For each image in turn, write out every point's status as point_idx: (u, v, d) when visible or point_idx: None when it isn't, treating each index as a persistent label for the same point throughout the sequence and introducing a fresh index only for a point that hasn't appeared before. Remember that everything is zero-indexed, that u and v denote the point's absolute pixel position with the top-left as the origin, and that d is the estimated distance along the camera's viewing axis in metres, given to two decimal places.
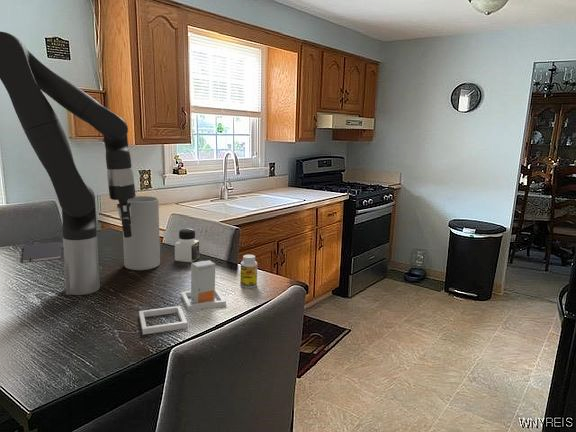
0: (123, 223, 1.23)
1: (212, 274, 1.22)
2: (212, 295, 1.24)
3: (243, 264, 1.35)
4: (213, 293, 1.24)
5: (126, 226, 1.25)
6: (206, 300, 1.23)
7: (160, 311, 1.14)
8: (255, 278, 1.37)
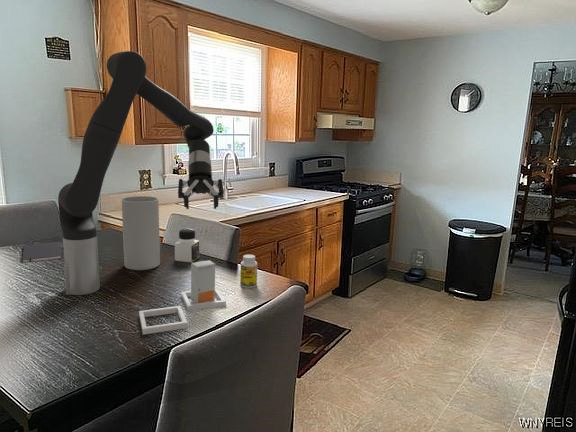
0: (223, 192, 1.34)
1: (212, 274, 1.22)
2: (212, 295, 1.24)
3: (243, 264, 1.35)
4: (213, 293, 1.24)
5: (218, 197, 1.33)
6: (206, 300, 1.23)
7: (160, 311, 1.14)
8: (255, 278, 1.37)
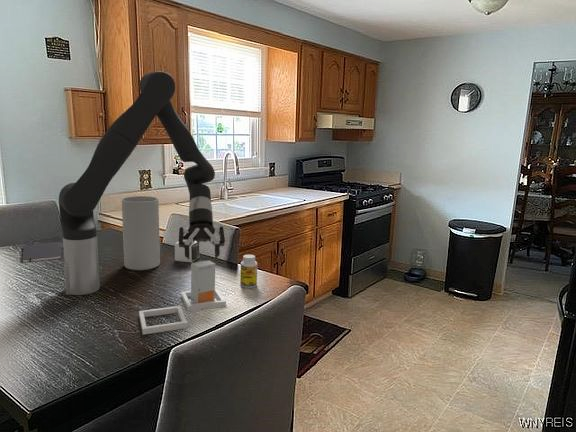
0: (224, 241, 1.32)
1: (212, 274, 1.22)
2: (212, 295, 1.24)
3: (243, 264, 1.35)
4: (213, 293, 1.24)
5: (219, 246, 1.31)
6: (206, 300, 1.23)
7: (160, 311, 1.14)
8: (255, 278, 1.37)
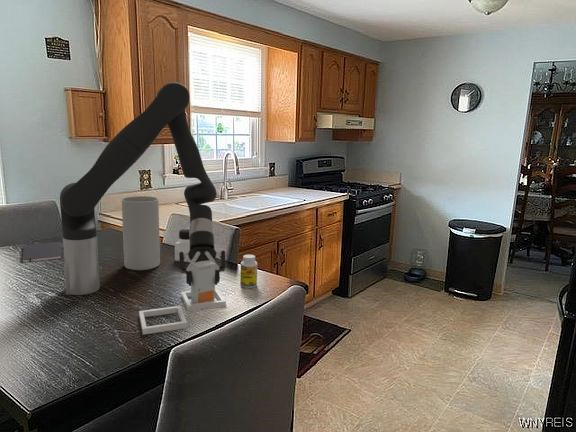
0: None
1: (212, 274, 1.22)
2: (212, 295, 1.24)
3: (243, 264, 1.35)
4: (213, 293, 1.24)
5: (219, 272, 1.25)
6: (206, 300, 1.23)
7: (160, 311, 1.14)
8: (255, 278, 1.37)
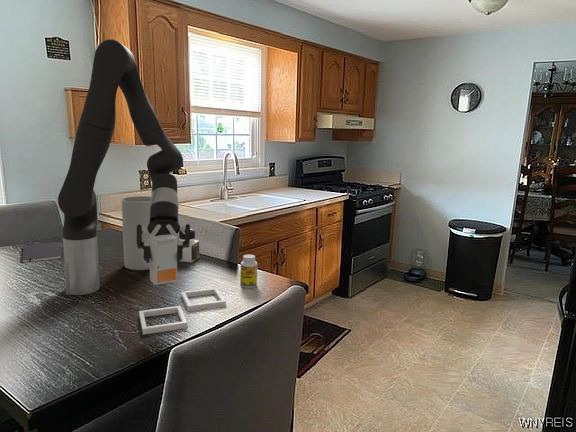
0: (189, 241, 1.10)
1: (174, 250, 1.07)
2: (174, 274, 1.08)
3: (243, 264, 1.35)
4: (175, 272, 1.08)
5: (182, 248, 1.09)
6: (167, 280, 1.07)
7: (160, 311, 1.14)
8: (255, 278, 1.37)
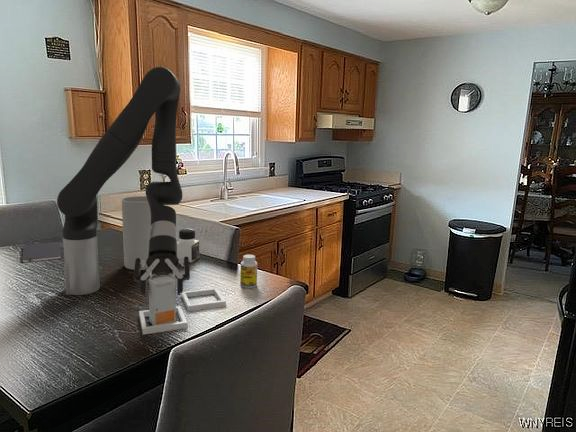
0: (189, 274, 1.11)
1: (172, 292, 1.08)
2: (173, 315, 1.10)
3: (243, 264, 1.35)
4: (174, 313, 1.10)
5: None
6: (166, 321, 1.09)
7: None
8: (255, 278, 1.37)
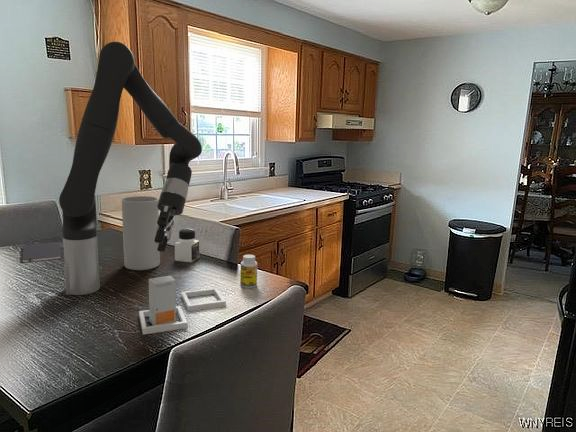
0: (158, 221, 1.13)
1: (172, 292, 1.08)
2: (173, 315, 1.10)
3: (243, 264, 1.35)
4: (174, 313, 1.10)
5: (160, 229, 1.15)
6: (166, 321, 1.09)
7: None
8: (255, 278, 1.37)
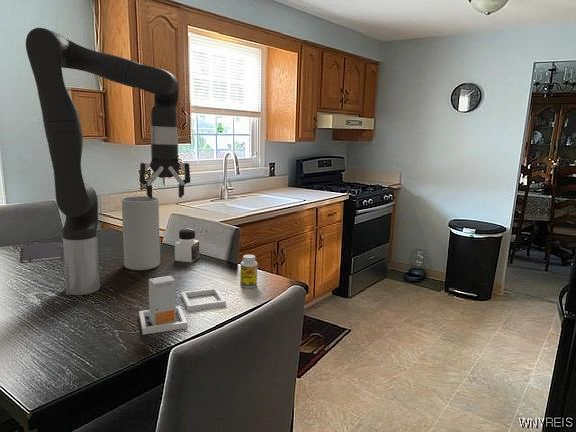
0: None
1: (172, 292, 1.08)
2: (173, 315, 1.10)
3: (243, 264, 1.35)
4: (174, 313, 1.10)
5: (146, 185, 1.21)
6: (166, 321, 1.09)
7: None
8: (255, 278, 1.37)
